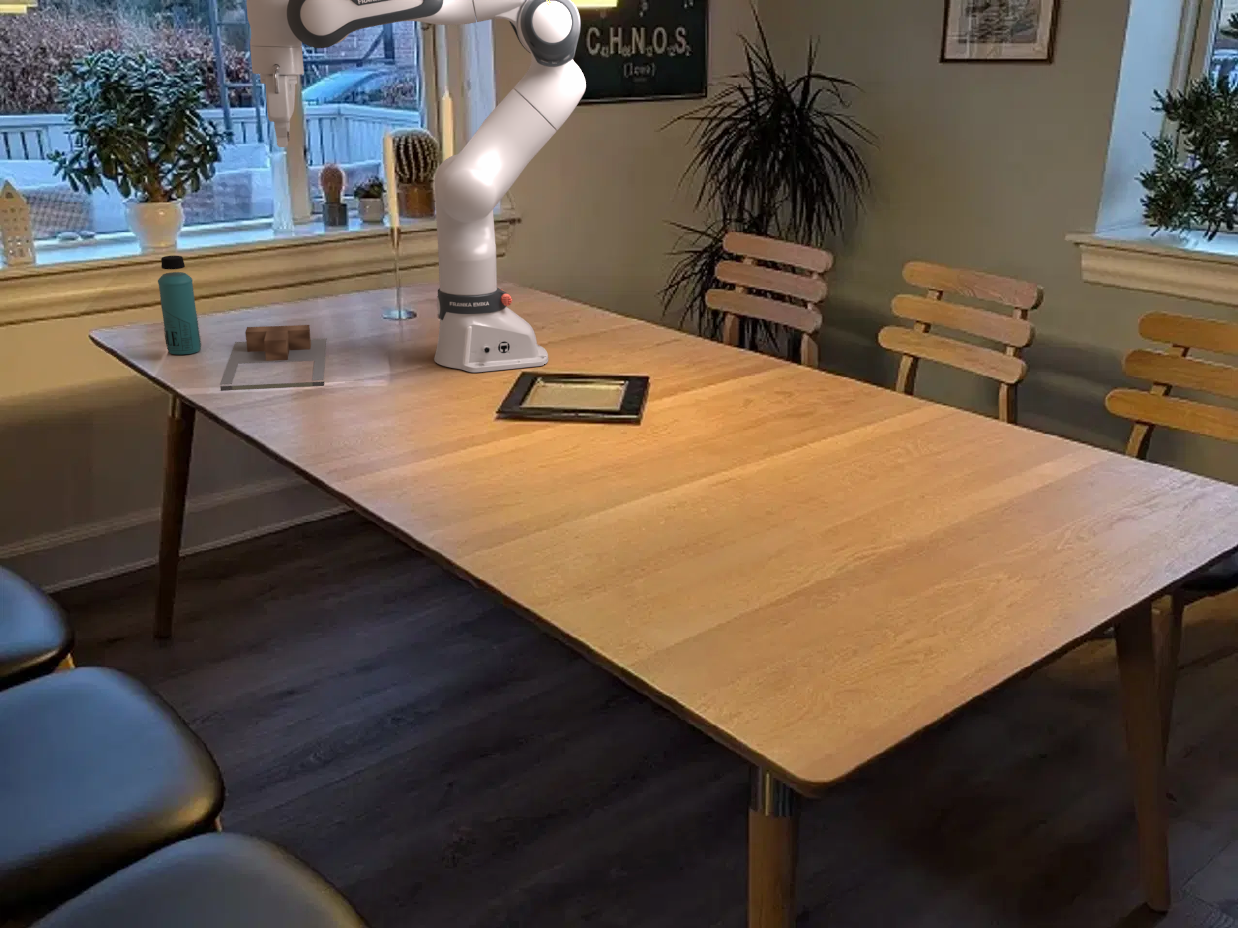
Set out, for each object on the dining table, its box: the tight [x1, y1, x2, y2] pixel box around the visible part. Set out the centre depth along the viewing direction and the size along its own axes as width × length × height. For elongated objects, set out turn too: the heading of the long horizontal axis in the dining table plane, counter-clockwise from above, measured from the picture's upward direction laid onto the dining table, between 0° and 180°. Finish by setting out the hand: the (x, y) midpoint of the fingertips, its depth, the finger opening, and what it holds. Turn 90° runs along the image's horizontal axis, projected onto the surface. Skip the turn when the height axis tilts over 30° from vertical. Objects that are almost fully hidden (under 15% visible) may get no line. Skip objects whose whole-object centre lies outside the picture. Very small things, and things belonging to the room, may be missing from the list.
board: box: [219, 338, 327, 392], centre depth 215 cm, size 18×29×1 cm, turn 13°
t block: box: [245, 324, 312, 361], centre depth 218 cm, size 12×11×4 cm
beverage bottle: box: [157, 255, 202, 355], centre depth 215 cm, size 6×7×20 cm
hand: (283, 144), depth 203 cm, fingers open, 8 cm apart
